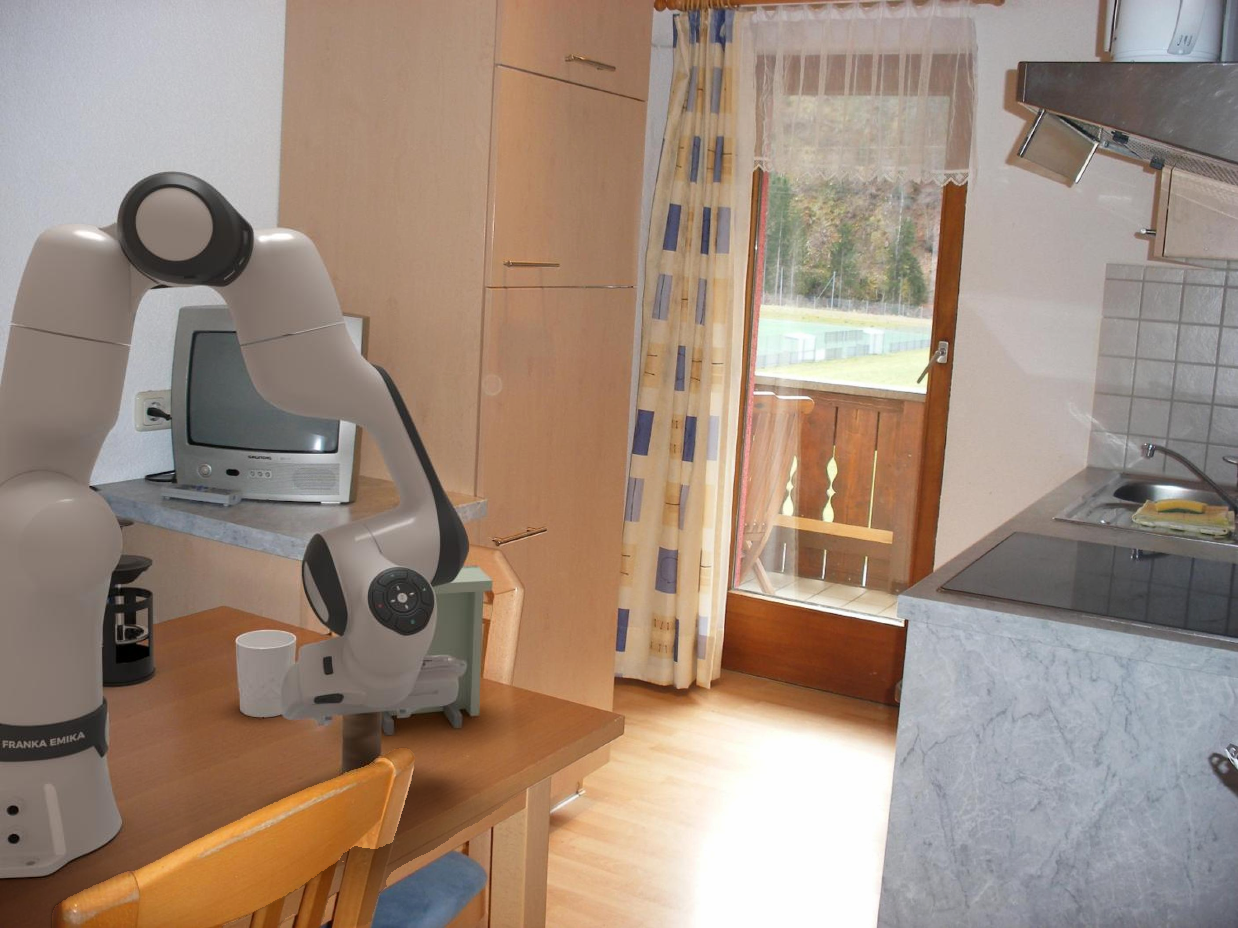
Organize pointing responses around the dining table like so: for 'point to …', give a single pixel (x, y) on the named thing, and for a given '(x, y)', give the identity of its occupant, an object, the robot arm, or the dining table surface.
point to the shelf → (457, 641)
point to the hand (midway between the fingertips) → (363, 715)
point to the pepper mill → (361, 740)
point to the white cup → (263, 670)
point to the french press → (127, 626)
